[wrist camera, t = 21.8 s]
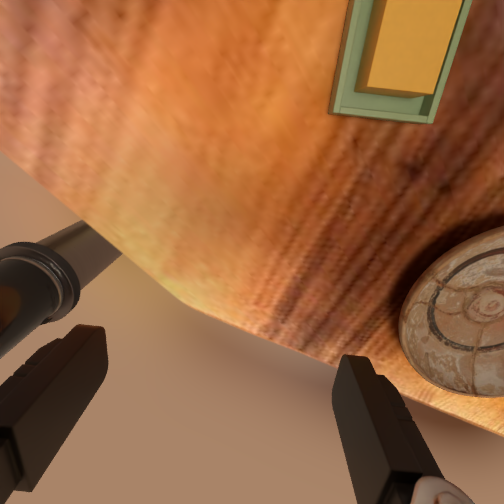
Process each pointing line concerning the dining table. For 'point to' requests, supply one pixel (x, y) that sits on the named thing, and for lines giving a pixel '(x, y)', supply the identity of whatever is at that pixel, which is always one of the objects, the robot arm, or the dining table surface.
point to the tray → (381, 105)
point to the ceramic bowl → (459, 318)
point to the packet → (406, 46)
